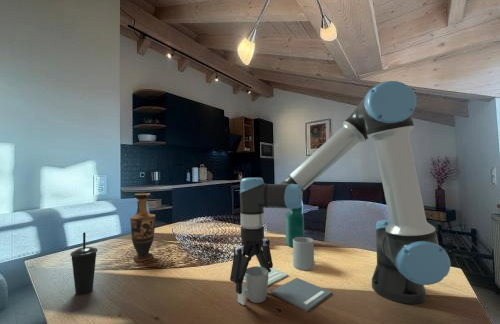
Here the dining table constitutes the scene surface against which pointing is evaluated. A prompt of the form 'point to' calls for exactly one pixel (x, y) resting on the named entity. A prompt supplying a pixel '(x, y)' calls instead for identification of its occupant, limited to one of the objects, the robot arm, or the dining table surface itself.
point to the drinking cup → (84, 268)
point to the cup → (256, 283)
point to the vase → (142, 229)
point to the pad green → (274, 276)
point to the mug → (303, 253)
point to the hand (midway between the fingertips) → (253, 296)
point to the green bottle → (294, 225)
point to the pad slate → (301, 293)
